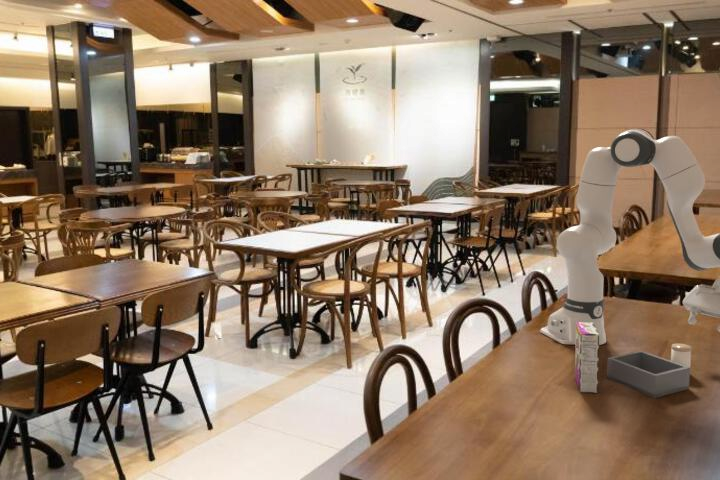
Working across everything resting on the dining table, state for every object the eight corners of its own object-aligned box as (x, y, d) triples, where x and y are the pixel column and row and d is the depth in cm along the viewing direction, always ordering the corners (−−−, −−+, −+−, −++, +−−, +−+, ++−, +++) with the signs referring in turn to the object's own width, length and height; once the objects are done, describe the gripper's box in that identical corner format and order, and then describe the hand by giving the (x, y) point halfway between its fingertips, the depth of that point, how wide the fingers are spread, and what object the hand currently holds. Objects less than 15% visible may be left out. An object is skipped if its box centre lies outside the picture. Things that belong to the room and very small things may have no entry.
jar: (666, 372, 187) (667, 345, 185) (678, 369, 189) (679, 342, 188) (681, 377, 182) (683, 350, 181) (693, 374, 184) (695, 347, 183)
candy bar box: (573, 377, 184) (575, 321, 181) (592, 378, 183) (594, 322, 180) (578, 392, 173) (580, 333, 171) (598, 393, 172) (600, 334, 170)
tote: (606, 378, 183) (607, 357, 182) (639, 370, 188) (640, 350, 187) (654, 398, 169) (655, 376, 168) (688, 388, 174) (690, 367, 173)
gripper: (693, 276, 198) (669, 312, 196) (759, 290, 180) (733, 329, 178) (701, 289, 201) (678, 324, 198) (767, 303, 183) (743, 342, 180)
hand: (705, 327), depth 188 cm, fingers open, 8 cm apart
